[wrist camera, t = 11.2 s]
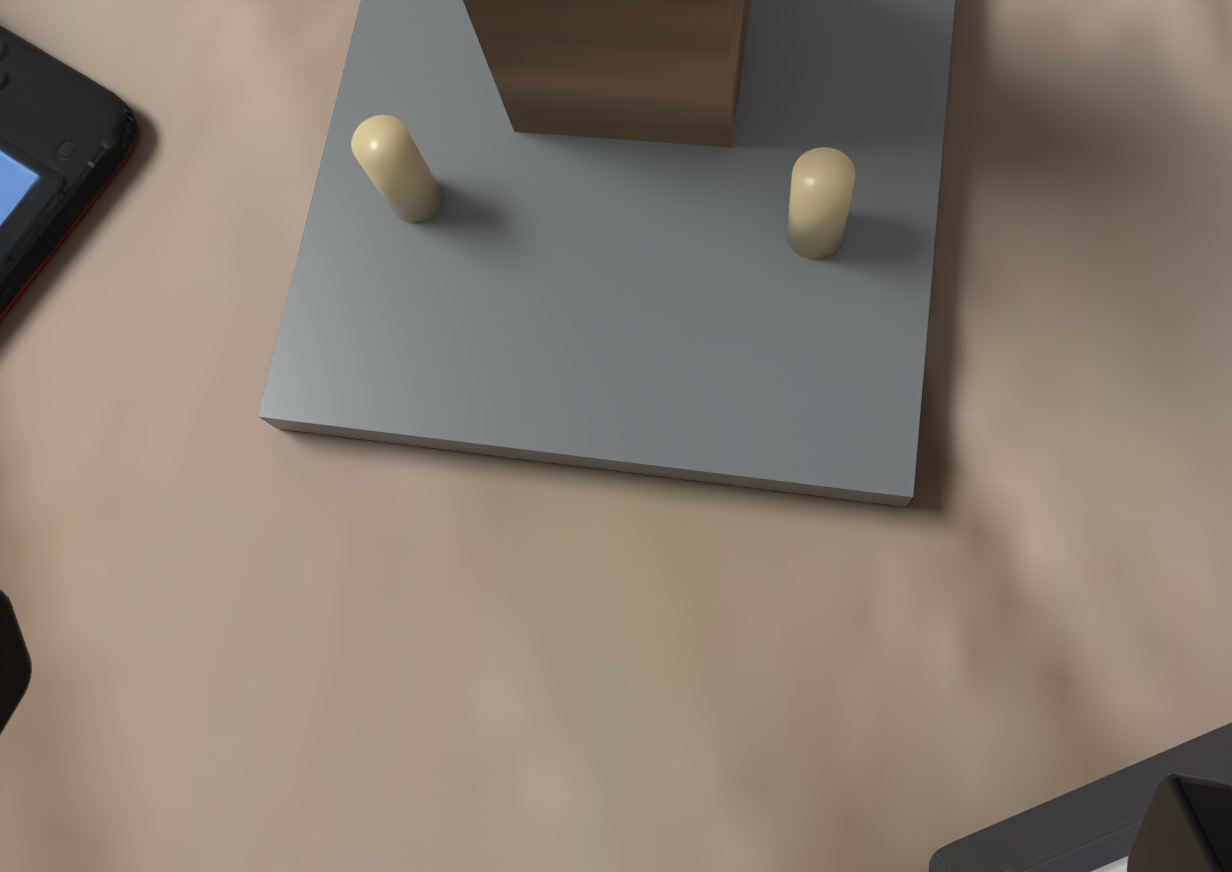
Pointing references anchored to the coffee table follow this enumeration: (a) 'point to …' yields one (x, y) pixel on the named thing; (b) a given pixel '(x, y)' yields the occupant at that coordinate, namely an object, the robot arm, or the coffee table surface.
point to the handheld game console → (50, 155)
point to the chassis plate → (630, 261)
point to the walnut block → (617, 66)
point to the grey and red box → (1085, 818)
